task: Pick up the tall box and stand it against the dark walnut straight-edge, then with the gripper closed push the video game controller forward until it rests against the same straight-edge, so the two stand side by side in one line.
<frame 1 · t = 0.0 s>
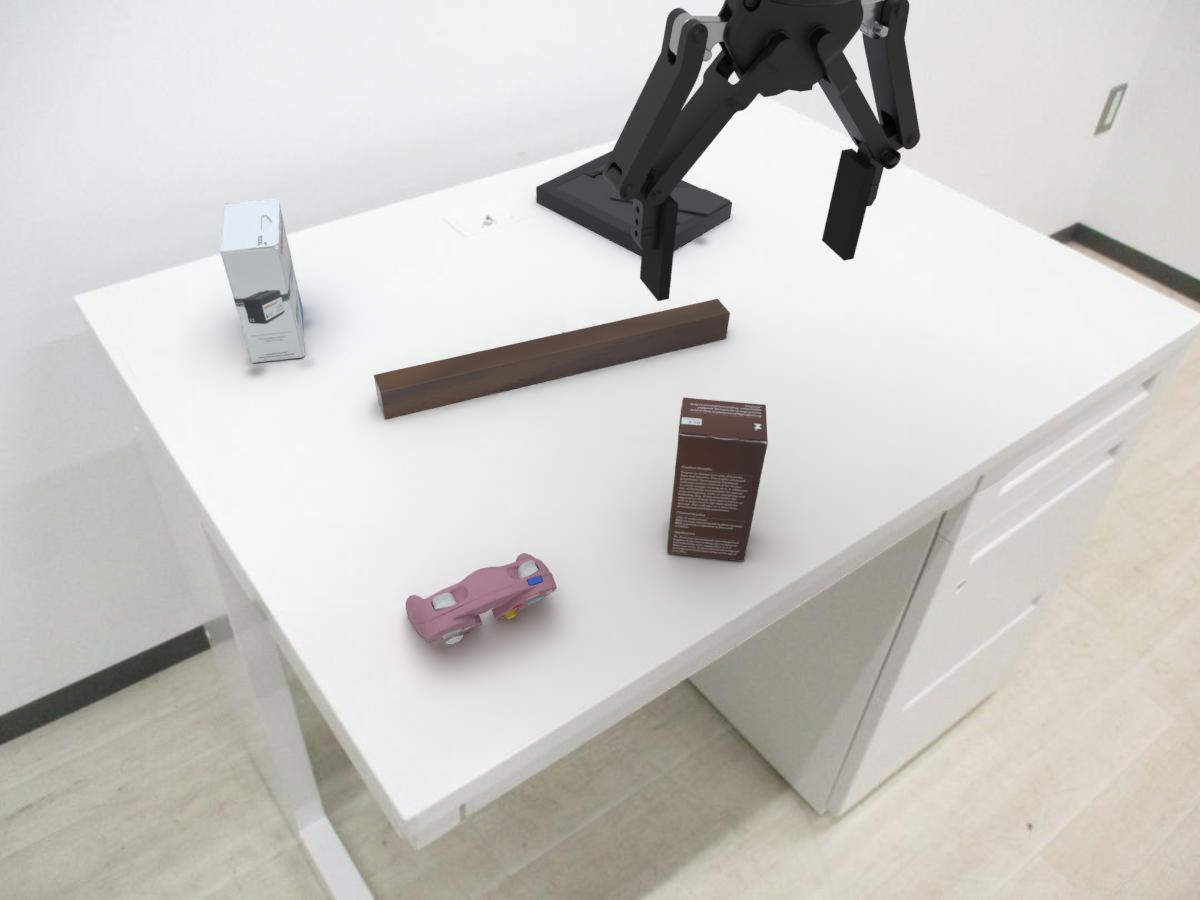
hand: (748, 269, 62), 21 cm above the table, tool pointing down, fingers open, 13 cm apart
box: (705, 539, 72), on the table
ink box: (278, 336, 89), on the table
straight edge: (560, 368, 86), on the table
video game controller: (483, 619, 66), on the table
picture frame: (632, 211, 108), on the table
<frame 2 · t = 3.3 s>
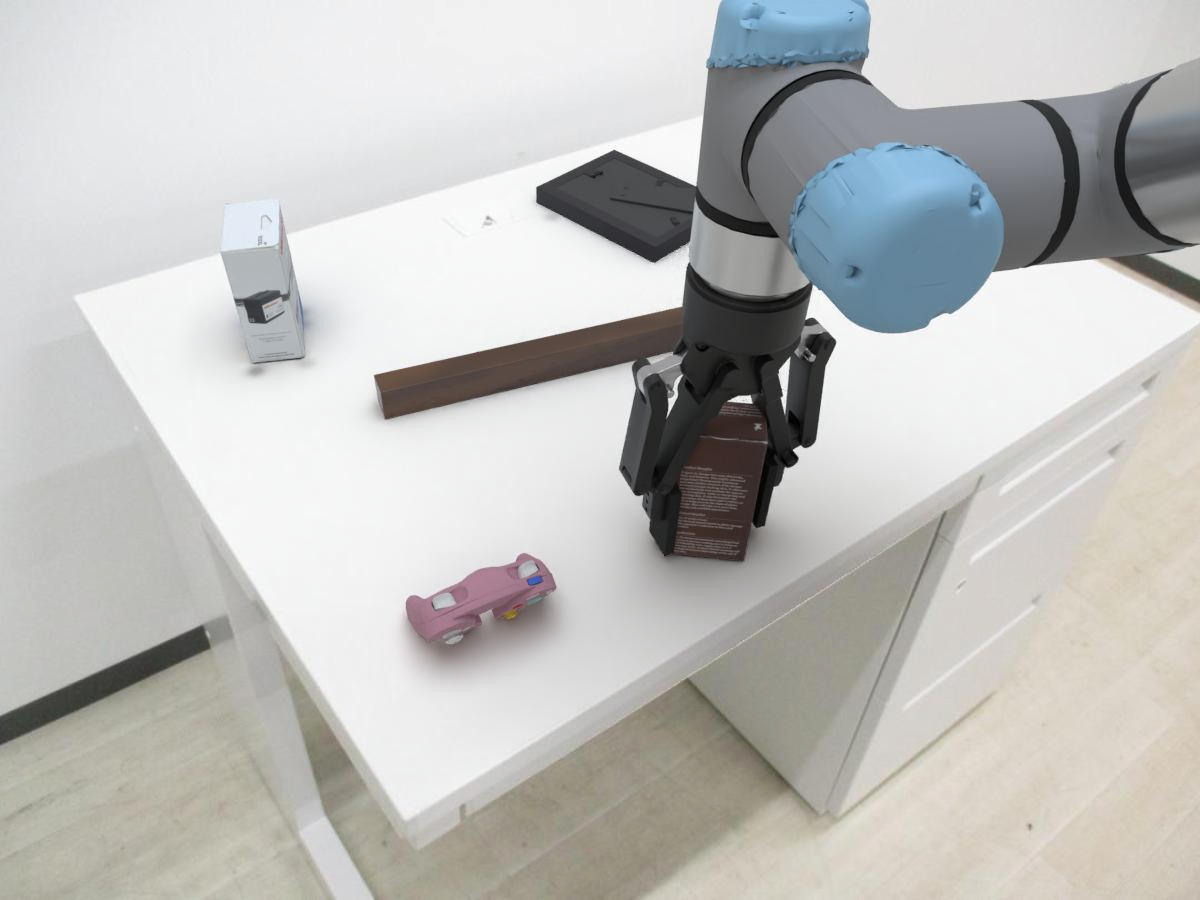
hand: (707, 528, 71), 1 cm above the table, tool pointing down, fingers closed on box, 7 cm apart
box: (705, 539, 72), on the table, touching gripper
everything else where it was.
when the fingers open (1 cm above the table, at t = 11.1 s): box stays where it is, on the table.
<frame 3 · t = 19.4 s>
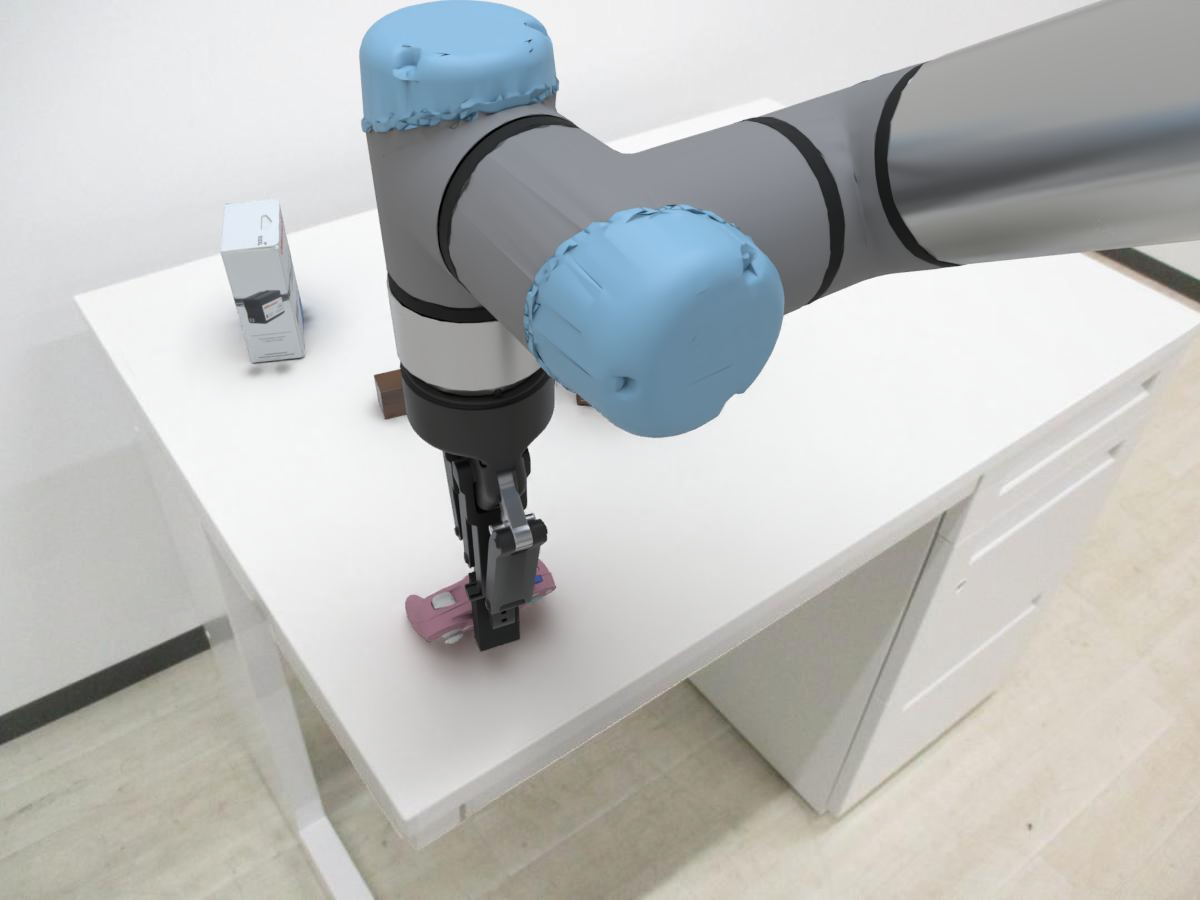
hand: (497, 637, 62), 2 cm above the table, tool pointing down, fingers closed
box: (610, 394, 84), on the table
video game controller: (483, 618, 66), on the table, touching gripper
everything else where it was.
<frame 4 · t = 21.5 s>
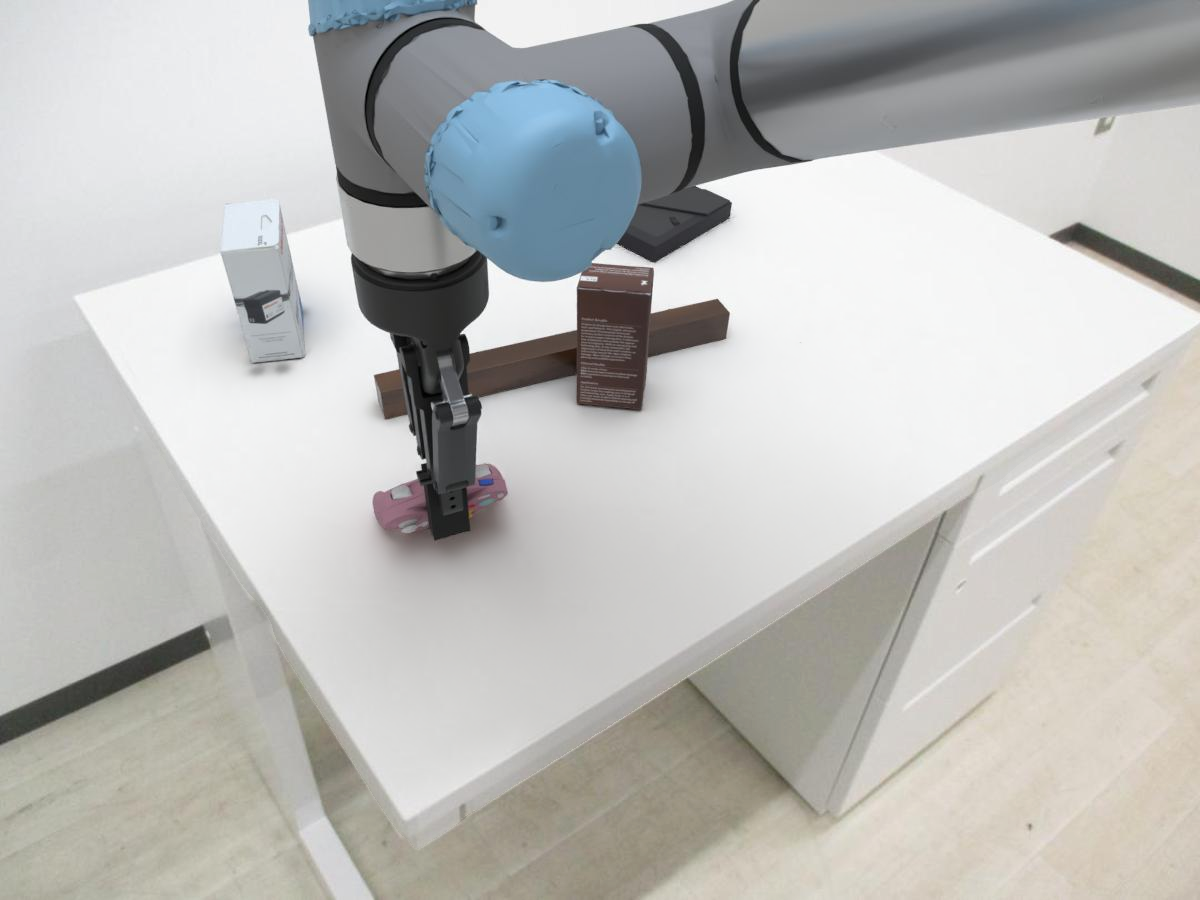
hand: (449, 529, 69), 2 cm above the table, tool pointing down, fingers closed
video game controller: (443, 519, 73), on the table, touching gripper
everything else where it was.
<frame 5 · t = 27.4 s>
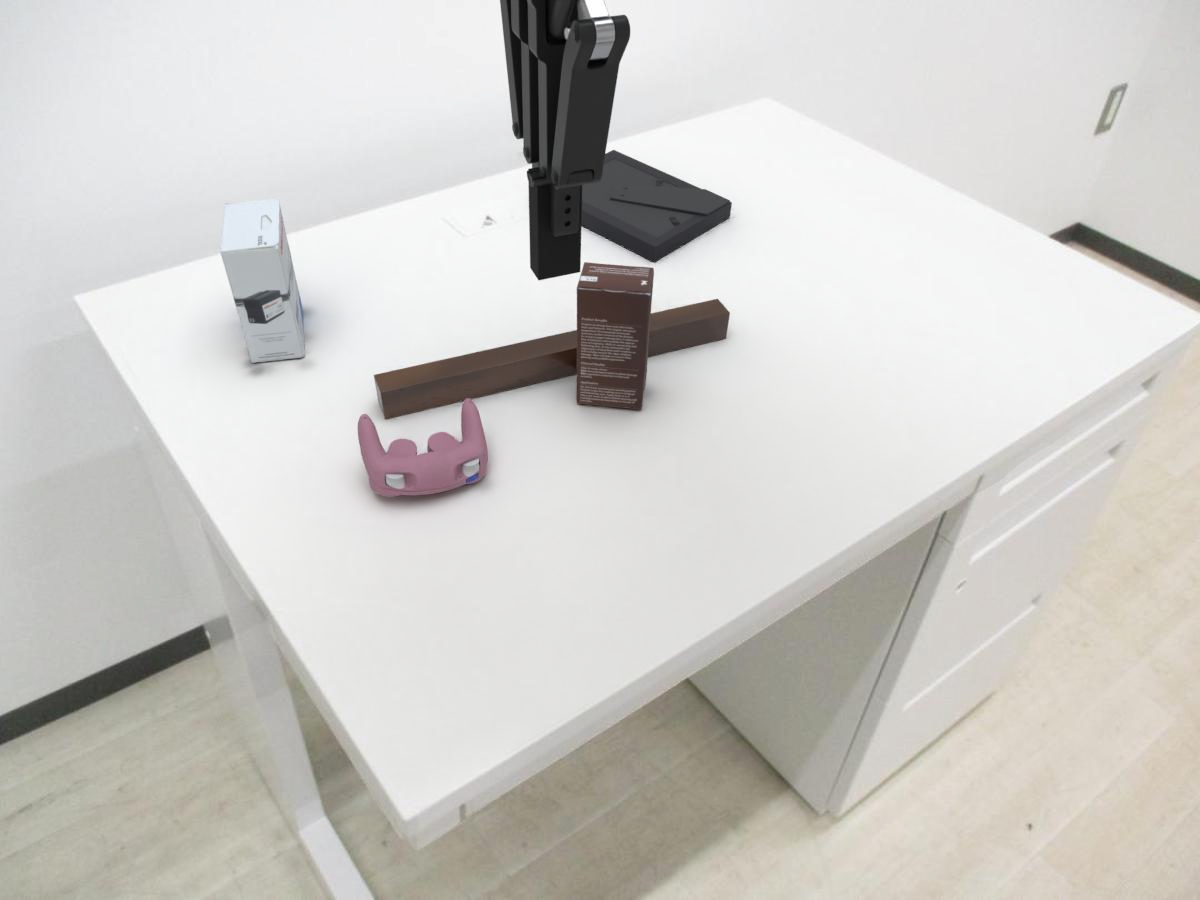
hand: (555, 269, 58), 22 cm above the table, tool pointing down, fingers closed
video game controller: (417, 436, 77), point 2 cm above the table
everything else where it was.
at the end: box inside the target area on the table beside the straight edge (1.5 cm from its centre), on the table; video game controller inside the target area on the table beside the straight edge (1.5 cm from its centre), point 1.6 cm above the table; box tilted 0° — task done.
